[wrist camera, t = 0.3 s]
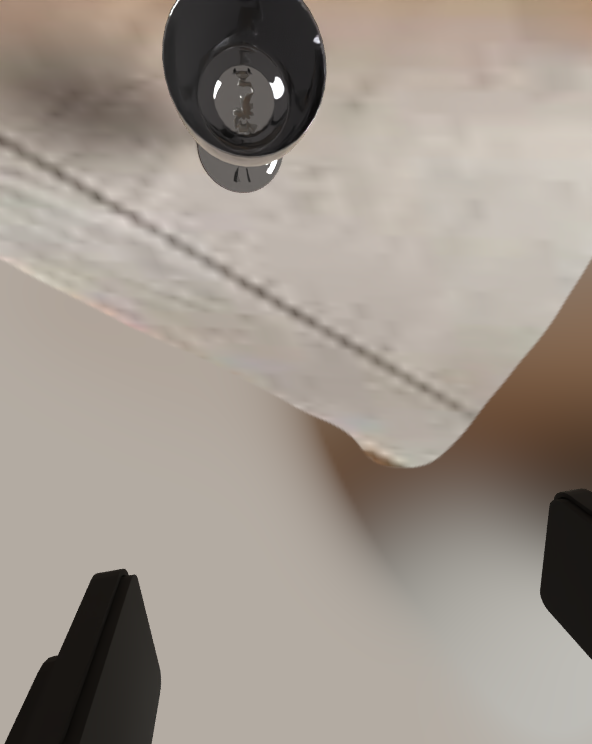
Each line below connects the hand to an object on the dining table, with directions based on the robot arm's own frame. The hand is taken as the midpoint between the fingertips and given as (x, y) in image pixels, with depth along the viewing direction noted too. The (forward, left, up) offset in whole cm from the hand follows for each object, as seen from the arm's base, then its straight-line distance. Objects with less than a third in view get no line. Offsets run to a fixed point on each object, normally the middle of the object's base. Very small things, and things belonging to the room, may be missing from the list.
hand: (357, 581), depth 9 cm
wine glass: (-12, -10, -31) cm, 35 cm away
